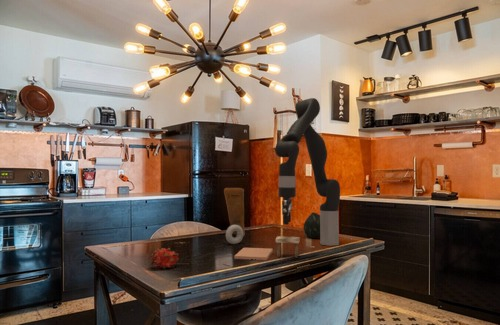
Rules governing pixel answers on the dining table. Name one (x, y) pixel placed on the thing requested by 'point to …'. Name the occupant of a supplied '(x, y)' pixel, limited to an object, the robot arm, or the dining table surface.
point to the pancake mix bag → (235, 206)
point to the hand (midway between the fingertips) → (287, 223)
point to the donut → (231, 230)
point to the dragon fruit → (164, 258)
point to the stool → (287, 240)
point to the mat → (254, 253)
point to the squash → (312, 226)
